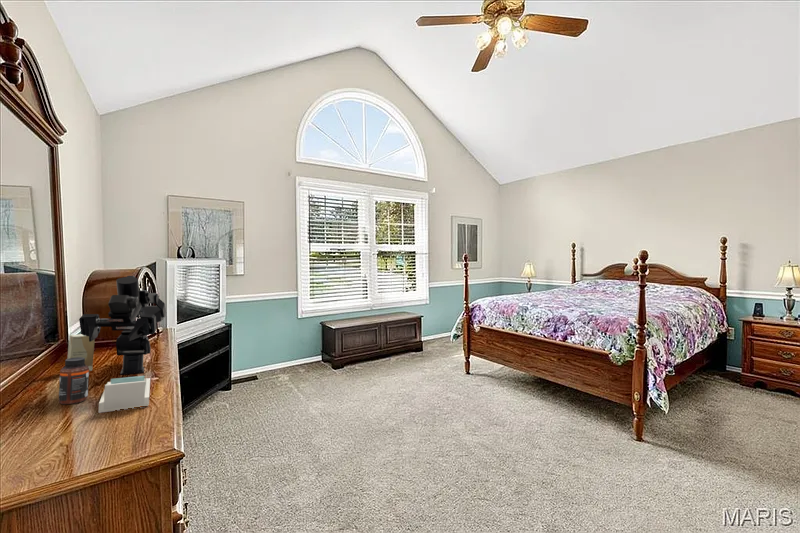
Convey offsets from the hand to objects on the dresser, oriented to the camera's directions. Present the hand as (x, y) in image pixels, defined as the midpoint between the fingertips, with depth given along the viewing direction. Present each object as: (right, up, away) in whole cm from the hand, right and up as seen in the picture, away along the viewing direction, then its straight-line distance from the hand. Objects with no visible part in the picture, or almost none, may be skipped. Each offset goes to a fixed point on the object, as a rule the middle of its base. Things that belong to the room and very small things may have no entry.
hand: (109, 339), depth 108 cm
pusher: (+7, -16, -3) cm, 17 cm away
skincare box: (-26, -15, +21) cm, 36 cm away
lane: (+7, -16, -3) cm, 17 cm away
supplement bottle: (-5, -15, -7) cm, 17 cm away
